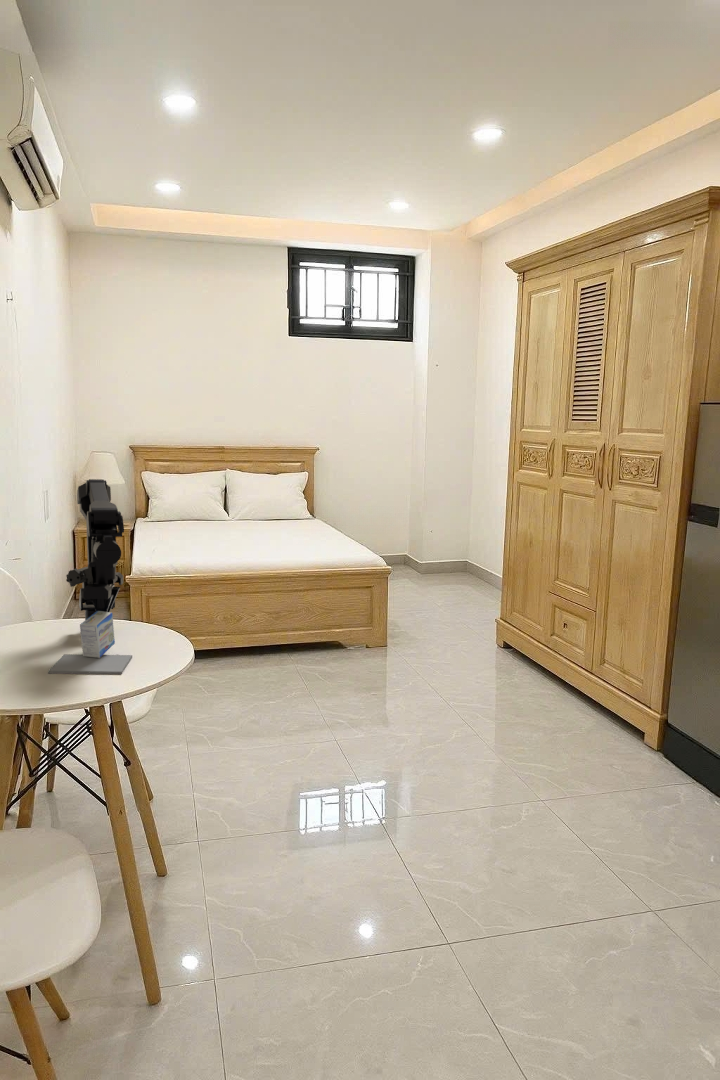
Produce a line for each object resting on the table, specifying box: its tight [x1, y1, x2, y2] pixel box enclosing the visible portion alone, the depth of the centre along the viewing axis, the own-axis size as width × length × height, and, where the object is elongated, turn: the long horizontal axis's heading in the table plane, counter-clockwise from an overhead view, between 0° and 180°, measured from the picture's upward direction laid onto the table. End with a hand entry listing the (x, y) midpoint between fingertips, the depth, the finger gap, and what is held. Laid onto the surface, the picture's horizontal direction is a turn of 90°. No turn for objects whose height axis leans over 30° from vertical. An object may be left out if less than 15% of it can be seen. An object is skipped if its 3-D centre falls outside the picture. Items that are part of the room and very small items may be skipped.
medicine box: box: [79, 611, 116, 658], centre depth 188 cm, size 8×4×9 cm, turn 169°
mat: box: [47, 653, 133, 675], centre depth 183 cm, size 13×16×1 cm
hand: (103, 618), depth 195 cm, fingers open, 4 cm apart
